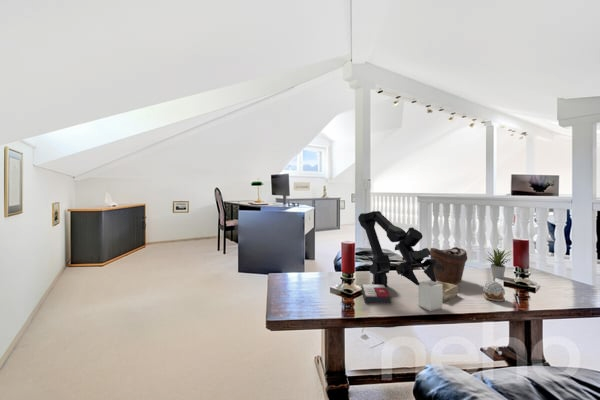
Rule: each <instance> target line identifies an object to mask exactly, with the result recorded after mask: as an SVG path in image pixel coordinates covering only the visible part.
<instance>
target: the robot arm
mask: <svg viewBox="0 0 600 400" xmlns="http://www.w3.org/2000/svg"><path fill="white" fill-rule="evenodd" d="M358 222H359V225H360V226H361V227H362V229H364V230H365V232H366V236H367V240H368V243H369V246H370V249H371V252H372V255H373V256H372V260H371V263H372V265H371V266H370V267H369V268H368V269H369V273H370V274H372V281H371V285H384V286H385V287H388V276H387V274H389V273H390V270H391V265H392V264H391V260H390V257H389V255H388V254H385V253H384V252H383V249H382V245H381V243H380V240H379V237H378V234H377V231H376V228H375V226H376V223H377V224H378V225H379V226H380V227H381V228H382V229H383V231H385V234H386V237H387V238H388V240H389V241H390V242H391V243H395V246H394V251H399V253H400V255H401V256H402V258H401V259H402V262H400V263H399V264H398V265H397V267H396V268H395V271H396V273H397V275H400V276H401V277H402V276H403V278H406V279H407V280H409V281H411V283H413V284H415V285H416V286H418V285H419V282H420V281H419V280H418V278H417V275H415V273H414V269H420V268H421V269H422V270H423V273H424V274H425V275H426V276H427V277H428V278H429V279H430V280H432V281H433V282H436V281H437V280H436V279H435V275H434V266H435V264H436V263H437V262H436V261H435V259H431V258H429V257H430V254H431V253H430V249H429V248H428V247H424V248H422V249H419V250H415V249H414V248H413V247H415V246H417V244H418V243H419V242H420V241H421V240H422V239H423V234H422V232H421V231H419V230H418V229H416V228H415V227H409V228H408V229H407V231H405V230H404V229H403V228H401V227H399V226H396V225H394V224H393V223H392V222H391V221H390V220H389V219H388V218H387V217H385V216H384V214H382V212H381V211H379V210H373V211H370V212H364V213H360V214H359V215H358ZM396 243H397V244H396Z"/></svg>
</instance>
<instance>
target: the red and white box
mask: <svg viewBox="0 0 600 400" xmlns="http://www.w3.org/2000/svg"><path fill="white" fill-rule="evenodd" d="M360 286H361V287H360V289H361V288H362V291H361V290H360V291H361V292H360V293H361V295H362V298H363V302H364V303H365V304H391V301H392V300H391V298H392V297H391V296H390V294H389V291H388V290H387V287H386V286H384V285H373V284H361V285H360Z"/></svg>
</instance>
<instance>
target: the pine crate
mask: <svg viewBox="0 0 600 400" xmlns="http://www.w3.org/2000/svg"><path fill="white" fill-rule="evenodd" d="M430 280H431V279H430ZM431 281H432V280H431ZM436 283H439V284H442V285H443V290H442V302H448V301H449V300H451V299H453V298H455V297H457V296H458V284H457V285H456V284H453V283H444V282H440V281H437V280H436Z"/></svg>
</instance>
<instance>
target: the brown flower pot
mask: <svg viewBox="0 0 600 400" xmlns="http://www.w3.org/2000/svg"><path fill="white" fill-rule="evenodd" d="M429 251H430V253H431V254H430V255H429V257H430V258H429V259H435V261H436V262H437V263H436V264H435V266H434V275H435V279H436V281H439V282H443V283H448V284H459V283H461V282H462V279H463V275H464V270H465V266H466V262H467V261H468V253H467V251H466V250H465V249H464V248H461V247H460V248H459V247H451V248H450V249H438V248H435V247H431V248H430V249H429Z"/></svg>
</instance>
